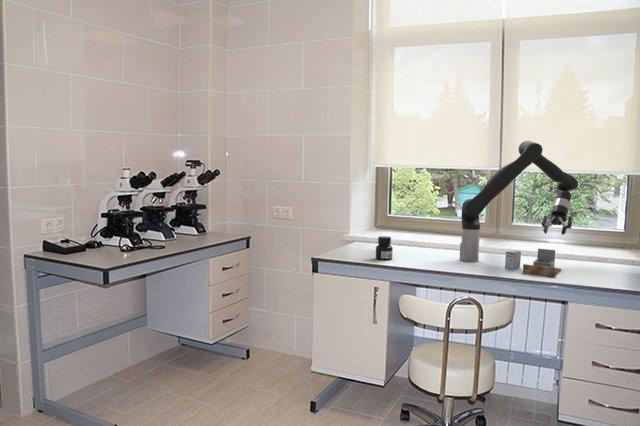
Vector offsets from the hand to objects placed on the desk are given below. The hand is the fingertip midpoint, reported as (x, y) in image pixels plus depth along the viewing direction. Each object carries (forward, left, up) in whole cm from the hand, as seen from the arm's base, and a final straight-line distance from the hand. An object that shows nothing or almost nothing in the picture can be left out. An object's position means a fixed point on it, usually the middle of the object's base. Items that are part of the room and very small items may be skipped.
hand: (553, 233), depth 272 cm
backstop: (-2, -19, -17) cm, 26 cm away
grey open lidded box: (-2, -15, -17) cm, 23 cm away
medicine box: (-16, -19, -17) cm, 30 cm away
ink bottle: (-79, -36, -17) cm, 88 cm away
